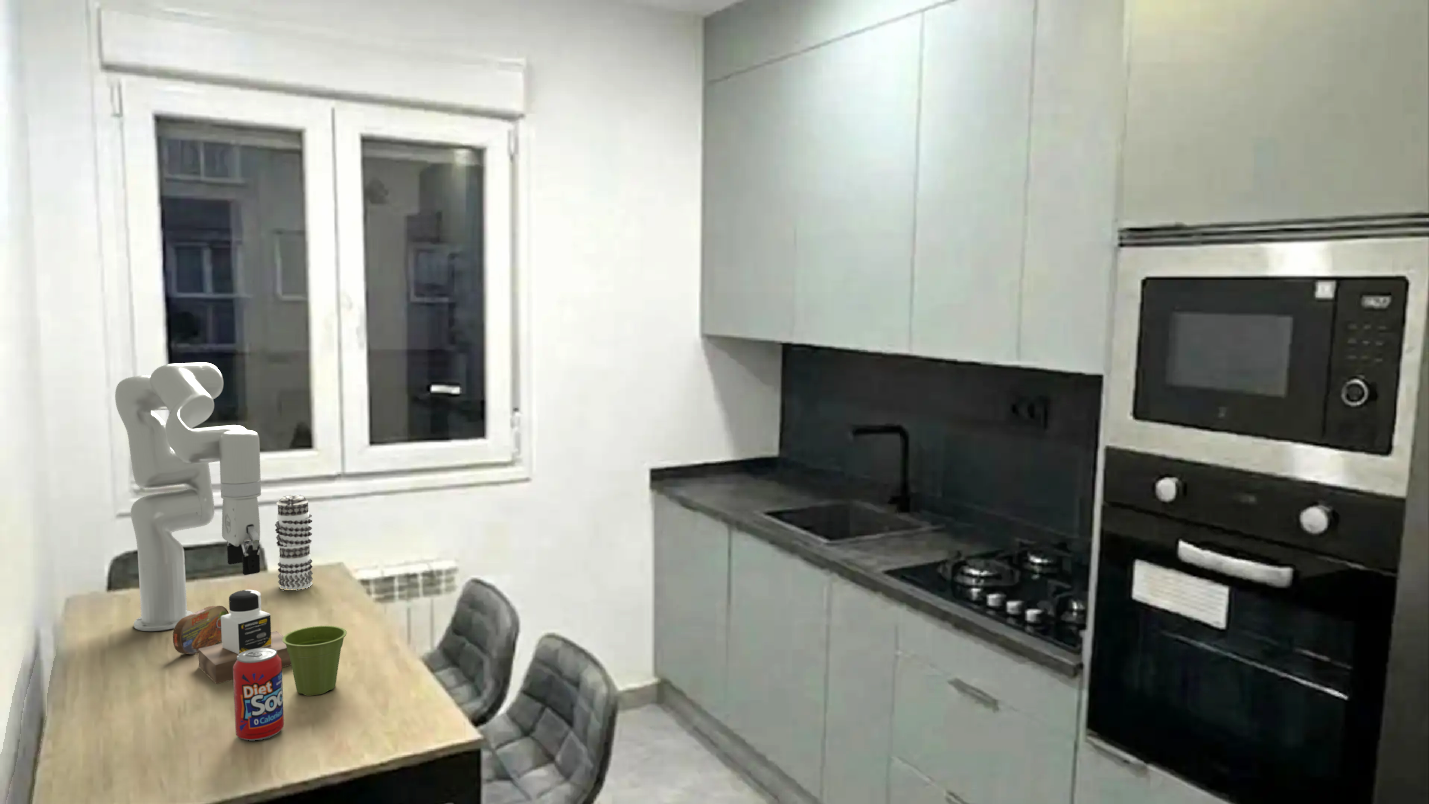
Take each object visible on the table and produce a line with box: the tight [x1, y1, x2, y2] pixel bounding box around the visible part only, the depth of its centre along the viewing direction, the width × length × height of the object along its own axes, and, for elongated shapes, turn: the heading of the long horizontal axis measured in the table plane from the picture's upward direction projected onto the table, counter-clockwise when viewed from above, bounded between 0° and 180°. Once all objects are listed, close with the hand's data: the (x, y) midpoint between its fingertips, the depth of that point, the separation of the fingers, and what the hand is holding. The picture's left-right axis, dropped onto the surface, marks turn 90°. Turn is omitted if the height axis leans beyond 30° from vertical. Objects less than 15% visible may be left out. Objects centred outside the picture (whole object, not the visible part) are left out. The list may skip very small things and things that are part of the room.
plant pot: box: [282, 625, 348, 697], centre depth 186 cm, size 12×12×11 cm
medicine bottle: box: [221, 589, 272, 654], centre depth 197 cm, size 7×7×12 cm
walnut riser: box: [197, 630, 292, 685], centre depth 198 cm, size 12×16×4 cm
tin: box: [172, 605, 230, 656], centre depth 207 cm, size 15×3×8 cm, turn 168°
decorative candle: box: [274, 494, 314, 591], centre depth 252 cm, size 9×9×25 cm
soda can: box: [232, 648, 285, 742], centre depth 166 cm, size 8×8×15 cm
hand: (243, 568), depth 196 cm, fingers open, 9 cm apart
